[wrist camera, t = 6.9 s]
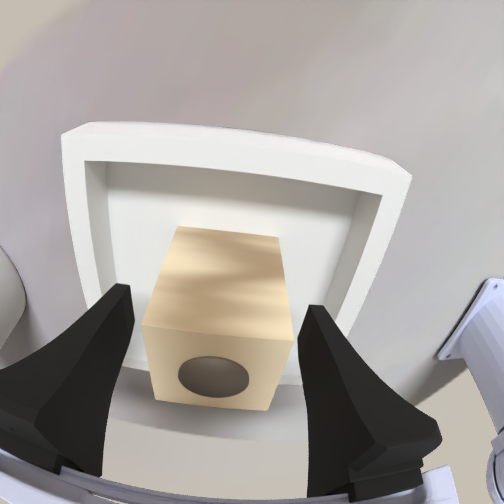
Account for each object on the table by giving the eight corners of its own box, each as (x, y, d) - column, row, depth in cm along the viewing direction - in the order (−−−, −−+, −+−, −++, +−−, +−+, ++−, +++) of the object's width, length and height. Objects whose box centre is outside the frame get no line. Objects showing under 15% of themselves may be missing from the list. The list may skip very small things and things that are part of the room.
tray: (386, 156, 12) (412, 176, 10) (314, 353, 19) (320, 384, 17) (90, 121, 11) (61, 135, 9) (115, 332, 18) (104, 362, 16)
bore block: (278, 237, 14) (294, 344, 9) (262, 310, 16) (267, 413, 11) (177, 225, 14) (140, 328, 8) (177, 300, 16) (154, 402, 11)
